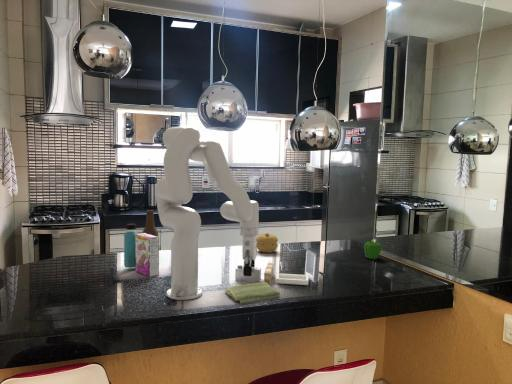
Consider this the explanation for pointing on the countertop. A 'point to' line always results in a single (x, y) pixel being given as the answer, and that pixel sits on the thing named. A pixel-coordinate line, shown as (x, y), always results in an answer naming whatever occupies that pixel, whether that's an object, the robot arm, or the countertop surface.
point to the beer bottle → (150, 224)
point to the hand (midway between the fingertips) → (249, 272)
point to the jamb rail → (268, 273)
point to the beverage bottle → (130, 247)
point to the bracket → (292, 279)
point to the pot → (267, 243)
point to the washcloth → (252, 292)
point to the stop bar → (254, 277)
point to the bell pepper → (372, 250)
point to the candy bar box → (147, 254)
